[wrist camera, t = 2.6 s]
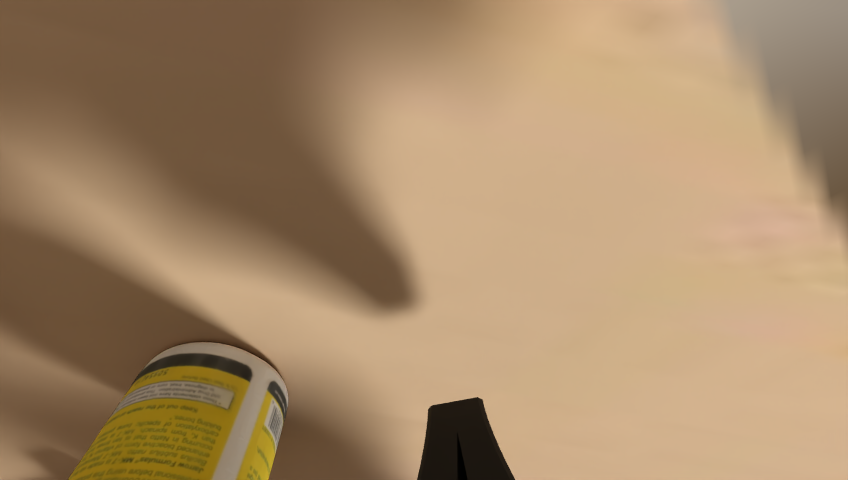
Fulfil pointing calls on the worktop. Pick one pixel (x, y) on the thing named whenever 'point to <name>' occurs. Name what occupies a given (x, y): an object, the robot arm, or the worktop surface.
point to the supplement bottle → (193, 419)
